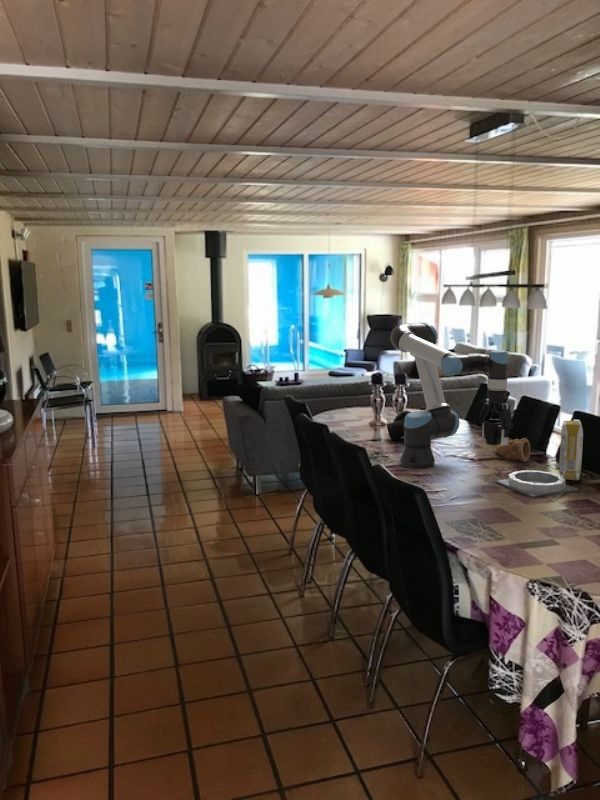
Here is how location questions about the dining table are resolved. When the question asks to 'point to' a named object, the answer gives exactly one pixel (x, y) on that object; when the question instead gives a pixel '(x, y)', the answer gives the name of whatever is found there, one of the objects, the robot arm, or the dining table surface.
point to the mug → (493, 431)
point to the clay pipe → (515, 449)
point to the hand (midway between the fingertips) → (494, 441)
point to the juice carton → (571, 449)
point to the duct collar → (537, 483)
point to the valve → (397, 426)
